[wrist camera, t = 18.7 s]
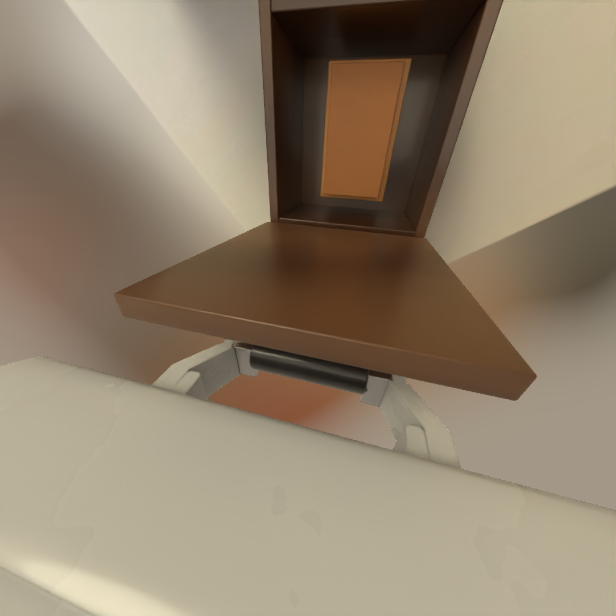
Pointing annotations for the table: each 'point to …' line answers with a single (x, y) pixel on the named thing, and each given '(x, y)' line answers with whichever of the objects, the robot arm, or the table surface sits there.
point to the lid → (335, 309)
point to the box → (414, 114)
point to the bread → (361, 125)
